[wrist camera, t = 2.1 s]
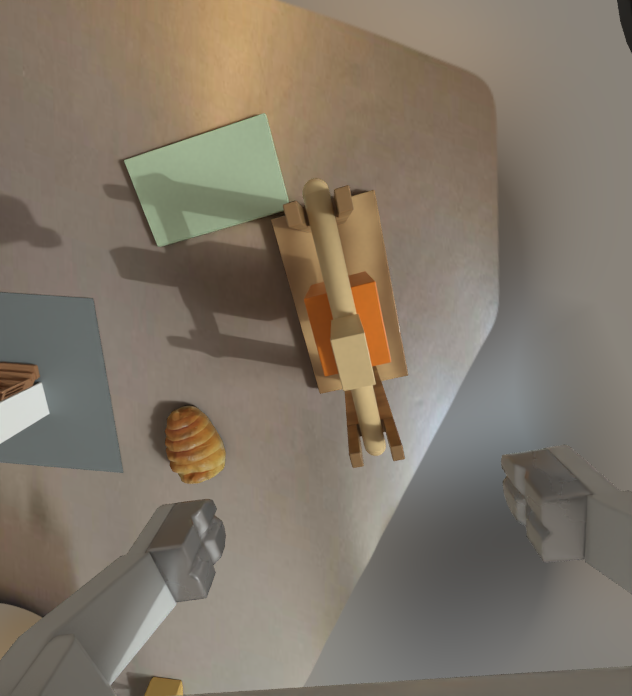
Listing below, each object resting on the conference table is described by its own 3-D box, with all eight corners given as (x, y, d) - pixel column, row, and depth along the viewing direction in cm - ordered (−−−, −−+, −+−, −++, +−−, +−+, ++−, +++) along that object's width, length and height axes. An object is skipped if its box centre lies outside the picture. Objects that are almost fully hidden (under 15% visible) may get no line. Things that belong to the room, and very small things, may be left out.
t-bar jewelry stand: (348, 187, 26) (361, 139, 13) (392, 399, 32) (428, 500, 19) (289, 204, 26) (250, 174, 14) (342, 408, 32) (348, 513, 20)
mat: (266, 115, 29) (264, 112, 28) (290, 209, 31) (289, 208, 30) (128, 162, 31) (123, 160, 30) (161, 246, 33) (157, 247, 32)
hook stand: (372, 191, 30) (409, 146, 16) (406, 371, 36) (455, 462, 21) (273, 220, 32) (219, 203, 17) (320, 389, 37) (311, 486, 23)
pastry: (159, 407, 39) (142, 424, 36) (211, 398, 38) (198, 415, 35) (185, 469, 42) (171, 491, 38) (233, 462, 41) (224, 483, 38)
